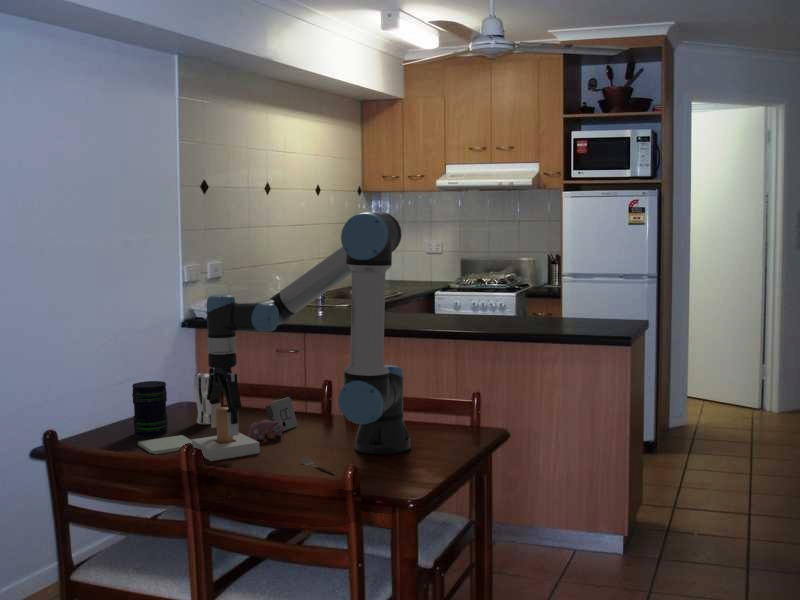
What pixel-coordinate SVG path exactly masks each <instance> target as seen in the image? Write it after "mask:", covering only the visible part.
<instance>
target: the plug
mask: <svg viewBox="0 0 800 600" xmlns="http://www.w3.org/2000/svg"><path fill="white" fill-rule="evenodd" d="M227 410H229V409H228V406H221V407H219V408H216V427H215V428H216V436H217V443H219V444H224V443H230V442H233V436H228V413H227Z"/></svg>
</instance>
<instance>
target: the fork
mask: <svg viewBox="0 0 800 600" xmlns="http://www.w3.org/2000/svg"><path fill="white" fill-rule="evenodd" d="M300 459H301V461H302V463H303V465H304V466H309V465H310V467H312V468H315V469H317V470H319V471H320V472H322V473H326V474H328V475H332V476H336V474H335V473H333V472H331V471H329V470H328V469H327V468H324V467H320V466H316V465H314V462H313V461H312V459H311V458H310V456H309V455H308V454H307V456H306V455H305V456H300Z"/></svg>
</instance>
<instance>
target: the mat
mask: <svg viewBox="0 0 800 600" xmlns="http://www.w3.org/2000/svg"><path fill="white" fill-rule="evenodd" d="M187 443H191V444H192V439H190V438H188V437H187V436H185V435H183V434H180V435H173V436H167V437H160V438H153V439H147V440H140V441H137V446H139V447H140V448H142V449H143V450H145V451H147V452H148V453H149V454H151V453H153V454H155V455H160V454H161V455H162V454H166V453H167V454H168V453H172V452H173V453H174V452H180V451H179V450H180V448H181V447H182V446H183V445H185V444H187Z"/></svg>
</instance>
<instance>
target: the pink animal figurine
mask: <svg viewBox="0 0 800 600" xmlns="http://www.w3.org/2000/svg"><path fill="white" fill-rule="evenodd" d="M282 430H283V427H282V425H281V424H280V423H279V422H278V421H277V420H275V421H271V420H268V419H263V420H260V421H258V422H257V421H254V422H253V423H252V424H250V426H249V428H248V431H247V437H250V438H252V439H253V437H255V438H256V439H257V440H258V441H259V440H260V441H262V440H263V439H265V433H264V432H267V434H266V435H267V439H269V440H272V439H275V437H276V436H277V437H281V436H282V433H283V432H282Z"/></svg>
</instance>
